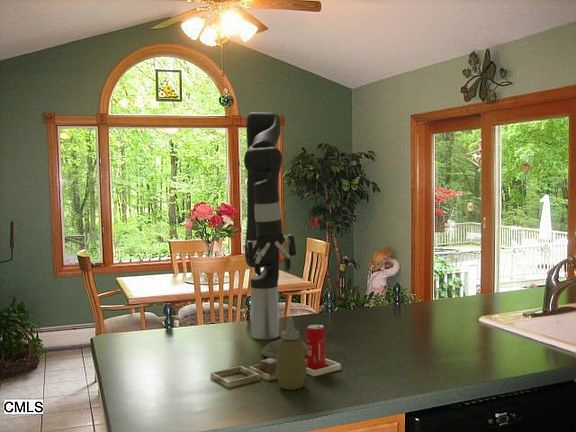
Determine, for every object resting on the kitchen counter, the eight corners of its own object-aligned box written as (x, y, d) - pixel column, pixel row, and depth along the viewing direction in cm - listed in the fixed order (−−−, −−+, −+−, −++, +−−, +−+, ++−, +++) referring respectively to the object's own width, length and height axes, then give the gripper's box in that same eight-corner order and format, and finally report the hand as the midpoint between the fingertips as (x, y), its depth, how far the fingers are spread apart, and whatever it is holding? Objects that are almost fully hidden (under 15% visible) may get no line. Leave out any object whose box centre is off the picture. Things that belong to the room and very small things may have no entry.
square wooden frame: (249, 371, 168) (248, 366, 168) (277, 364, 173) (277, 359, 173) (268, 380, 160) (268, 375, 160) (297, 373, 166) (297, 367, 165)
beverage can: (324, 371, 166) (323, 329, 165) (305, 371, 167) (304, 328, 166) (326, 366, 171) (325, 324, 170) (308, 365, 172) (307, 324, 171)
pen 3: (292, 367, 170) (292, 362, 170) (319, 361, 176) (319, 356, 176) (313, 376, 163) (313, 371, 162) (340, 369, 168) (340, 363, 168)
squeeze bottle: (274, 382, 159) (273, 314, 158) (305, 380, 160) (303, 313, 158) (276, 392, 151) (275, 322, 150) (308, 391, 152) (307, 320, 150)
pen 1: (210, 378, 163) (210, 372, 163) (240, 371, 168) (240, 365, 168) (228, 387, 155) (228, 382, 155) (259, 379, 161) (259, 374, 161)
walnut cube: (260, 375, 165) (259, 360, 165) (270, 371, 168) (270, 357, 167) (270, 378, 162) (270, 363, 162) (280, 374, 165) (280, 360, 165)
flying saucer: (286, 346, 193) (286, 329, 193) (321, 355, 183) (321, 337, 182) (251, 356, 183) (251, 339, 183) (286, 367, 172) (285, 348, 172)
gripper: (287, 212, 177) (291, 266, 180) (240, 219, 172) (245, 274, 175) (296, 216, 170) (300, 271, 173) (247, 223, 165) (253, 280, 168)
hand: (273, 272), depth 174 cm, fingers open, 8 cm apart
